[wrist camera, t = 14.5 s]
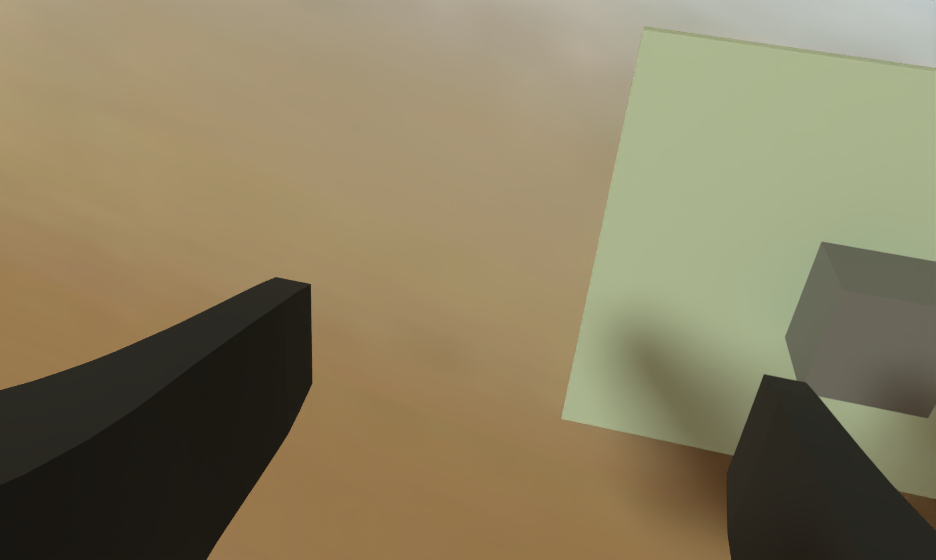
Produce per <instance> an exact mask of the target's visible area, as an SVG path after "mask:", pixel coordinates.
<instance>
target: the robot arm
mask: <svg viewBox="0 0 936 560" xmlns="http://www.w3.org/2000/svg"><path fill="white" fill-rule="evenodd" d="M311 385H312V332H311V284H308V283H303V282H298V281H293V280H288V279H283V278H277V277H275V278H273V279H270V280H268V281H265V282H263V283H261V284H259V285H257V286H254V287H252V288H250V289H248V290H246V291H244V292H242V293H240V294H238V295H236V296H234V297H232V298H230V299H228V300H226V301H224V302H222V303H220V304H218V305H216V306H214V307H212V308H210V309H208V310H206V311H204V312H201V313H199V314H197V315H195V316H193V317H191V318H189V319H187V320H185V321H183V322H181V323H179V324H177V325H175V326H173V327H170V328H168V329H166V330H164V331H161V332H159V333H157V334H154V335H152V336H150V337H148V338H145V339H143V340H141V341H138V342H136V343H134V344H132V345H129V346H127V347H125V348H122V349H120V350H118V351H116V352H113V353H111V354H108V355H106V356H103V357H101V358H98V359H95V360H93V361H90V362H87V363H85V364H82V365H79V366H76V367H73V368H71V369H68V370H65V371H62V372H59V373H56V374H53V375H50V376H47V377H44V378H41V379H38V380H35V381H32V382H28V383H25V384H21V385H18V386H14V387H10V388H7V389H3V390H0V560H206V559H207V558H208V556H209V554H210V553H211V551H212V549H213V548H214V546H215V544H216V543H217V541H218V540H219V538H220V537H221V535H222V534H223V532H224V531H225V529H226V528H227V526H228V525H229V523H230V522H231V520H232V519H233V517H234V516H235V514H236V513H237V511H238V510H239V508H240V507H241V505H242V504H243V502H244V501H245V499H246V498H247V496H248V495H249V493H250V492H251V490H252V489H253V487H254V486H255V484H256V483H257V481H258V480H259V478H260V477H261V475H262V474H263V472H264V470H265V469H266V467H267V466H268V464H269V463H270V461H271V460H272V458H273V457H274V455H275V454H276V452H277V451H278V449H279V447H280V446H281V444H282V443H283V441H284V440H285V438H286V437H287V435H288V433H289V431H290V429H291V427H292V425H293V423H294V421H295V419H296V417H297V415H298V413H299V411H300V409H301V407H302V405H303V402H304V400H305V398H306V396H307V394H308V392H309V389H310V387H311ZM727 528H728V540H729V547H730V554H731V560H936V531H935V530H934V529H933V528H932V527H931V526H930V525H929V524H928V523H927V522H926V520H925V519H924V518H923V517H922V516H921V515H920V514H919V513H918V512H917V511H916V510H915V509H914V508H913V507H912V506H911V505H910V504H909V503H908V501H907V500H906V499H905V498H904V497H903V496H902V495H901V494H900V493H899V492H898V490H897V489H896V488H895V487H894V486H893V485H892V484H891V483H890V481H889V480H888V479H887V478H886V477H885V476H884V475H883V473H882V472H881V471H880V470H879V469H878V468H877V466H876V465H875V464H874V463H873V462H872V461H871V459H870V458H869V457H868V456H867V455H866V454H865V452H864V451H863V450H862V449H861V448H860V446H859V445H858V444H857V443H856V442H855V440H854V439H853V438H852V437H851V435H850V434H849V433H848V432H847V431H846V429H845V428H844V427H843V426H842V425H841V423H840V422H839V421H838V420H837V418H836V417H835V416H834V415H833V414H832V412H831V411H830V410H829V409H828V407H827V406H826V405H825V404H824V403H823V401H822V400H821V399H820V398H819V397H818V395H817V394H816V393H815V392H814V391H813V390H812V388H811V387H810V386H809V385H808V384H807V383H806V382H801V381H796V380H791V379H786V378H781V377H776V376H771V375H766V374H764V375H763V378H762V380H761V383H760V386H759V389H758V391H757V394H756V397H755V399H754V402H753V405H752V407H751V410H750V413H749V415H748V418H747V421H746V423H745V426H744V429H743V431H742V434H741V437H740V440H739V442H738V445H737V448H736V450H735V453H734V456H733V458H732V461H731V464H730V466H729V469H728V472H727Z"/></svg>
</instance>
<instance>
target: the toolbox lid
mask: <svg viewBox="0 0 936 560" xmlns="http://www.w3.org/2000/svg"><path fill="white" fill-rule="evenodd" d="M764 374H766V375H771V376H776V377H781V378H786V379H791V380H796V381H801V382H806V383H807V384H808V385H809V386H810V387H811V388H812V390H813V391H814V392H815V393H816V394H817V395H818V397H819V398H820V399H821V400H822V401H823V403H824V404H825V405H826V406H827V407H828V409H829V410H830V411H831V412H832V414H833V415H834V416H835V417H836V418H837V420H838V421H839V422H840V423H841V425H842V426H843V427H844V428H845V429H846V431H847V432H848V433H849V434H850V435H851V437H852V438H853V439H854V440H855V442H856V443H857V444H858V445H859V446H860V448H861V449H862V450H863V451H864V452H865V454H866V455H867V456H868V457H869V458H870V459H871V461H872V462H873V463H874V464H875V465H876V466H877V468H878V469H879V470H880V471H881V472H882V473H883V475H884V476H885V477H886V478H887V479H888V480H889V481H890V483H891V484H892V485H893V486H894V487H895V488H896V489H897V490H898V491H900V492H904V493H909V494H914V495H918V496H923V497H928V498H932V499H936V68H931V67H924V66H917V65H910V64H903V63H896V62H889V61H882V60H875V59H868V58H861V57H854V56H847V55H840V54H833V53H826V52H819V51H812V50H805V49H798V48H791V47H784V46H777V45H771V44H764V43H757V42H750V41H743V40H736V39H729V38H722V37H715V36H708V35H701V34H694V33H687V32H680V31H673V30H666V29H659V28H652V27H645V26H644V27H643V32H642V37H641V41H640V46H639V51H638V56H637V60H636V65H635V70H634V75H633V79H632V84H631V89H630V94H629V98H628V103H627V108H626V113H625V117H624V122H623V127H622V132H621V136H620V141H619V146H618V151H617V155H616V160H615V165H614V170H613V174H612V179H611V184H610V189H609V193H608V198H607V203H606V208H605V212H604V217H603V222H602V227H601V231H600V236H599V241H598V246H597V250H596V255H595V260H594V265H593V269H592V274H591V279H590V284H589V288H588V293H587V298H586V303H585V307H584V312H583V317H582V322H581V326H580V331H579V336H578V341H577V345H576V350H575V355H574V360H573V364H572V369H571V374H570V379H569V383H568V388H567V393H566V398H565V402H564V407H563V412H562V418H561V419H565V420H570V421H575V422H579V423H584V424H588V425H593V426H598V427H602V428H607V429H612V430H616V431H621V432H626V433H630V434H635V435H640V436H644V437H649V438H654V439H658V440H663V441H667V442H672V443H677V444H681V445H686V446H691V447H695V448H700V449H705V450H709V451H714V452H719V453H723V454H728V455H732V456H734V453H735V450H736V448H737V445H738V442H739V440H740V437H741V434H742V431H743V429H744V426H745V423H746V421H747V418H748V415H749V413H750V410H751V407H752V405H753V402H754V399H755V397H756V394H757V391H758V389H759V386H760V383H761V380H762V378H763V375H764Z"/></svg>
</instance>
